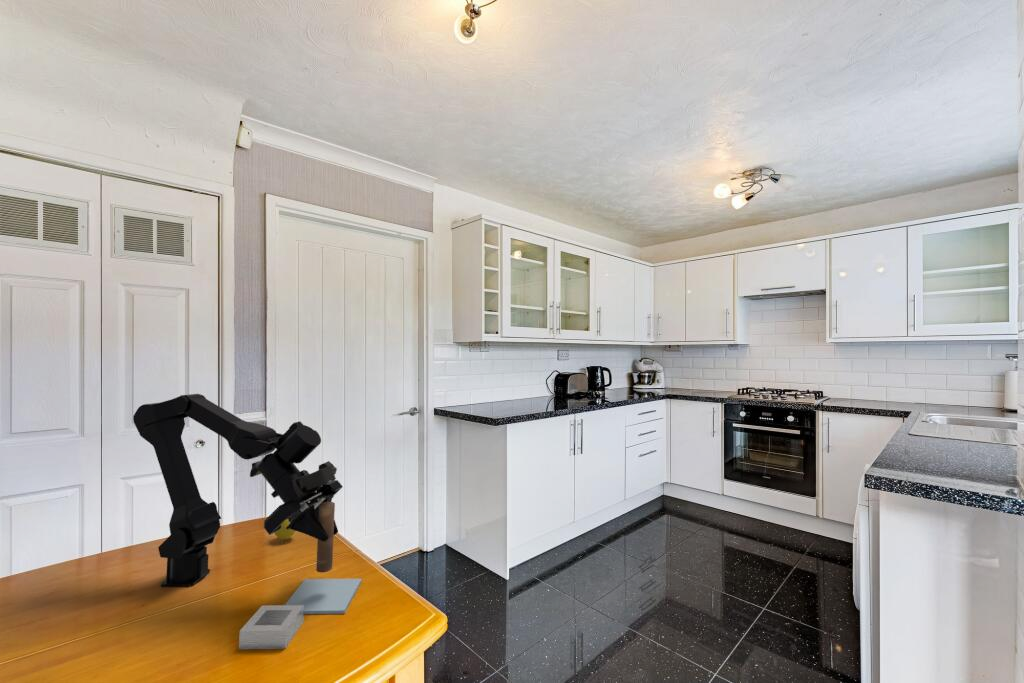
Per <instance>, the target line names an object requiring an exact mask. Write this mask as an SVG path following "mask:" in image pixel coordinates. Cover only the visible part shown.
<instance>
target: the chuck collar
mask: <svg viewBox="0 0 1024 683" xmlns="http://www.w3.org/2000/svg"><path fill="white" fill-rule="evenodd" d="M304 616H305V614H304V605H285V604H283V605H280V604H279V605H273V604H272V605H271V604H270V605H261V606H260V607H259V608H258V609H257V611H256V612H255V613H254V614H253V615H252V617H250V619H249V620H248V621H247V622H246V623H245V624H244V626H242V628H240V630H239V637H238V638H239V640H238V650H276V649H277V650H280V649H282V650H283V649H287V647H288V645H289V644H290V643H291V641H292V640H293V638H294V637H295V635H296V634H297V632H298V630H299V629H300V628H301V626H302V625H303V623H304Z"/></svg>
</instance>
